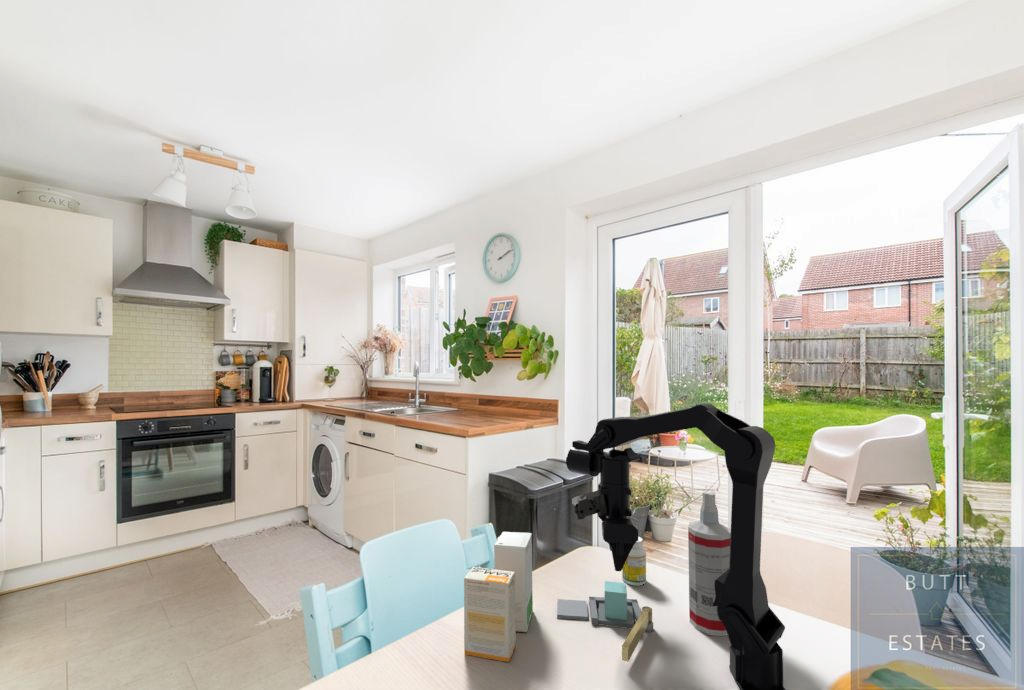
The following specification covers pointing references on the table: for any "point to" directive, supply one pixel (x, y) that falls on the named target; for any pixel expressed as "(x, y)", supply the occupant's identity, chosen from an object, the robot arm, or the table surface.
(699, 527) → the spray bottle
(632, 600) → the socket
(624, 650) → the clip
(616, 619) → the plug
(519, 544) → the skincare box
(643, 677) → the table surface
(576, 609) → the pad
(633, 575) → the supplement bottle
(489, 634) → the supplement box
